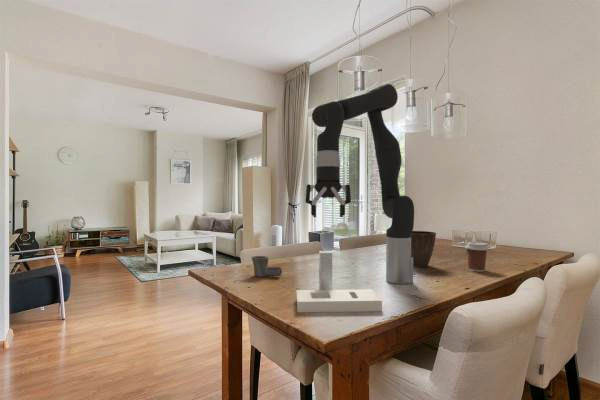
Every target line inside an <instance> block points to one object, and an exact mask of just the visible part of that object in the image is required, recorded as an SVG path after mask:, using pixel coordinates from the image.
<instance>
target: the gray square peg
mask: <svg viewBox="0 0 600 400" xmlns="http://www.w3.org/2000/svg"><path fill="white" fill-rule="evenodd" d="M318 290H333V252H332V251H331V250H319V251H318Z"/></svg>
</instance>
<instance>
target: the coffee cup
mask: <svg viewBox="0 0 600 400" xmlns="http://www.w3.org/2000/svg"><path fill="white" fill-rule="evenodd" d="M465 249H466V254H467V264H468V265H467V267H468V270H469V271H472V272H478V273H479V272H481V273H483V272H485V271H486V270H485V269H486V262H487V251H488V250H489V247H488V246H487V244H486V243H484V242H475V241H473V242H471V241H470V242H467V245H465Z"/></svg>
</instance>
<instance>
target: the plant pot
mask: <svg viewBox="0 0 600 400" xmlns="http://www.w3.org/2000/svg"><path fill="white" fill-rule="evenodd" d="M436 237H437V233H436V232H434V231H427V230H426V231H425V230H413V231H412V233H411V257H412V258H413V267H415V268H426V267H427V268H428V266H429V264H430V262H431V258H432V255H433V252H434V248H435V244H436Z"/></svg>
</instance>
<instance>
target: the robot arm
mask: <svg viewBox="0 0 600 400" xmlns="http://www.w3.org/2000/svg"><path fill="white" fill-rule="evenodd" d="M398 97H399V96H398V92H397V89H396V87H395V86H394V85H392V84H391V83H384V84H381V85H378V86H375V87H372V88H370V89H369V90H367V91H366V93H365V92H364V93H362V94H357V95H352V96H349V97H345V98H341V99H338V100H337V101H336V100H333V101H329V102H326V103H323V104H320V105H317V106H316V107H315V108H314V109H313V111H312V113H311V118H312V122H313V123H314V125H315V126H317V127H319V128H325V129H324V130H323V132H321V133H320V134H318V135H317V139H316V158H315V184H307V185H306V188H305V203H306V204H309V205H310V206H311V207H310V208H311V209H310V211H311V212H310V214H311V216H313V218H317V205H316V204H317V203H318V201H319V200H320V199H321V198H322V199H327V198H330V199H333V198H335V200H336V201H337V202H338V203H339V217H340V218H344V216H345V214H346V205H347V204H350V203H351V202H352V201H351V200H352V198H351V185H350V184H348V183H347V184H341V181H340V180H341V159H340V158H341V157H340V137H341V134H342V130H343V127H344V126H343V124H344V121H349V120H351V119H354V118H356V117H359V116H361V115H364V114H367V117H368V120H369V124H370V129H371V133H372V138H373V139H372V140H373V145H374V153H375V158H376V163H377V168H378V176H379V181H380V186H381V187H380V191H381V204H382V205H381V207H382V212H383V213H384V215H385V216H386V217H388V218H390V219H391V225H390V227H388V228H387V229H386V233H385V242H386V243H385V244H386V245H385V255H386V256H385V278H386V279H385V280H386V282H388V283H391V284H397V285H409V284H413V283H414V266H413V258H412V257H411V233H412V231H414V227H415V226H414V225H415V223H414V222H415V205H414V202H413V200H412V198H411V197H409V196H408V195H403V194H400V189H399V183H398V182H399V177H400V176H399V175H400V170H401V167H402V162H403V161H402V160H403V159H402V152H401V148H400V143H399V140H398V138H396V136H395V135H394V134H393V133H392V132H391V130H389V128H388V127H387V126H386V124H385V122H384V117H383V114H382V113H383V112H384V111H387V110H389V109H392V108H393V107H394V106H395V105H396V104H397V102H398ZM341 189H342V192H344V193H345V194H344V195H345V200H344V198H343V197H342V196H341V195H340V190H341ZM314 190H315V191H316V193H317V194H315V197H314V198H313V199H312V200H311V192H313V191H314Z"/></svg>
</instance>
